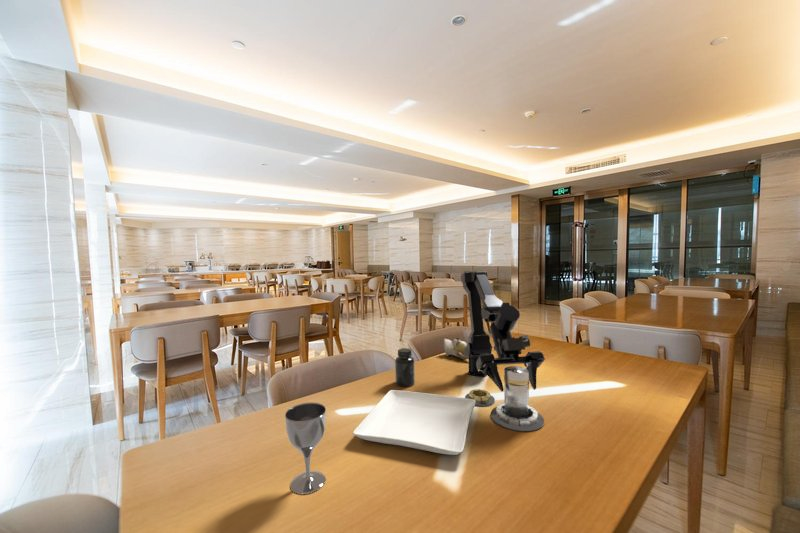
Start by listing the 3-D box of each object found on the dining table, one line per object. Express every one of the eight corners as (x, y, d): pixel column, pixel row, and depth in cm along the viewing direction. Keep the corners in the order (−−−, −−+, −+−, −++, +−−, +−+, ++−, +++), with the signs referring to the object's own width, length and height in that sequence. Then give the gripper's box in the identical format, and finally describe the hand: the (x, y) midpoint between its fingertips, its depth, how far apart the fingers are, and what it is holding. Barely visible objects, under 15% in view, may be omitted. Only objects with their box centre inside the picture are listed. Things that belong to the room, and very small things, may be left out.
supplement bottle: (410, 378, 123) (410, 346, 123) (417, 385, 117) (417, 351, 116) (393, 381, 121) (392, 348, 120) (399, 388, 115) (398, 354, 114)
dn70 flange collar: (485, 424, 90) (485, 417, 90) (496, 402, 103) (495, 396, 103) (542, 436, 84) (542, 428, 84) (545, 412, 96) (545, 405, 96)
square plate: (476, 410, 99) (476, 397, 99) (462, 468, 73) (462, 451, 73) (390, 398, 108) (390, 387, 107) (351, 446, 82) (350, 431, 82)
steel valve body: (499, 415, 94) (498, 369, 93) (512, 407, 98) (512, 364, 97) (520, 424, 89) (520, 376, 88) (534, 416, 93) (534, 370, 92)
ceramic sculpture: (449, 332, 155) (480, 338, 146) (448, 350, 156) (479, 357, 147) (438, 337, 146) (470, 344, 138) (437, 357, 147) (469, 365, 139)
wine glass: (292, 470, 73) (290, 403, 72) (330, 468, 73) (328, 401, 72) (283, 498, 65) (280, 422, 64) (325, 494, 65) (322, 419, 65)
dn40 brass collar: (461, 402, 103) (461, 396, 103) (469, 391, 111) (469, 385, 111) (491, 408, 99) (491, 402, 99) (497, 396, 107) (497, 390, 107)
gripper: (478, 326, 95) (493, 379, 85) (541, 323, 97) (563, 375, 86) (470, 345, 103) (483, 396, 93) (528, 343, 105) (547, 392, 95)
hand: (518, 390), depth 91 cm, fingers open, 9 cm apart
